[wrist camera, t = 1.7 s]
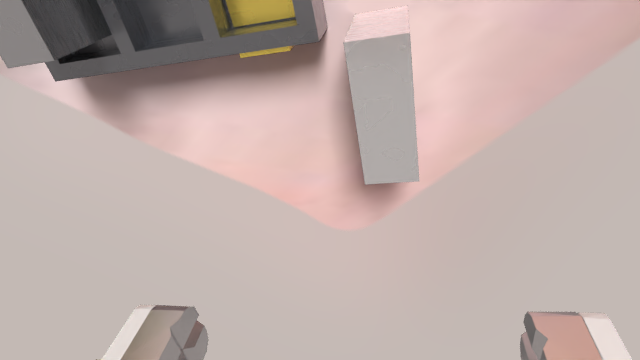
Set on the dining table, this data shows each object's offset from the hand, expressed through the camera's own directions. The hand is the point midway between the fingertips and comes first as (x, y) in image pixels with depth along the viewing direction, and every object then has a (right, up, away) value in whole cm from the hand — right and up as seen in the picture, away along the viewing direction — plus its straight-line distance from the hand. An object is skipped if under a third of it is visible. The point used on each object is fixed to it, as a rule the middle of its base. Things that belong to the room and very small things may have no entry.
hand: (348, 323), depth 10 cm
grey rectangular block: (+4, +10, +15) cm, 19 cm away
